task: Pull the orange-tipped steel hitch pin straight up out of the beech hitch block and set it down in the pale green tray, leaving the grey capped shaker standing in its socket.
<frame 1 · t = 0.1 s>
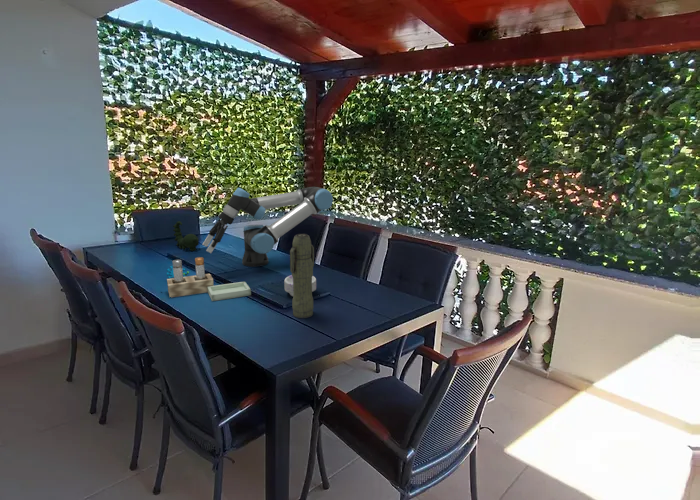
hand: (206, 248, 222), 15 cm above the table, tool tilted 35°, fingers open, 13 cm apart
teal spiky toy: (178, 280, 220), on the table
toy figurine: (187, 249, 277), on the table
grey capped shaker: (180, 292, 203), resting in hitch block
hitch pin: (201, 289, 207), resting in hitch block
tray: (229, 293, 202), on the table
thermos: (303, 314, 181), on the table
hitch block: (191, 290, 205), on the table
paper bowls: (300, 294, 203), on the table
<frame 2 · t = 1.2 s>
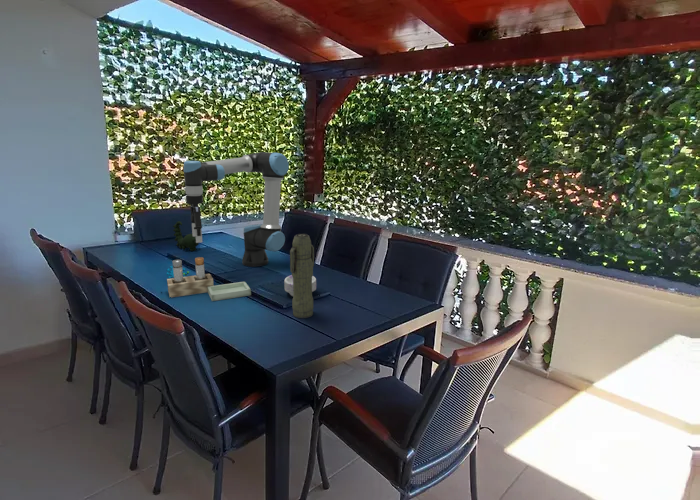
hand: (197, 239, 201), 25 cm above the table, tool pointing down, fingers open, 13 cm apart
nothing on the table moved.
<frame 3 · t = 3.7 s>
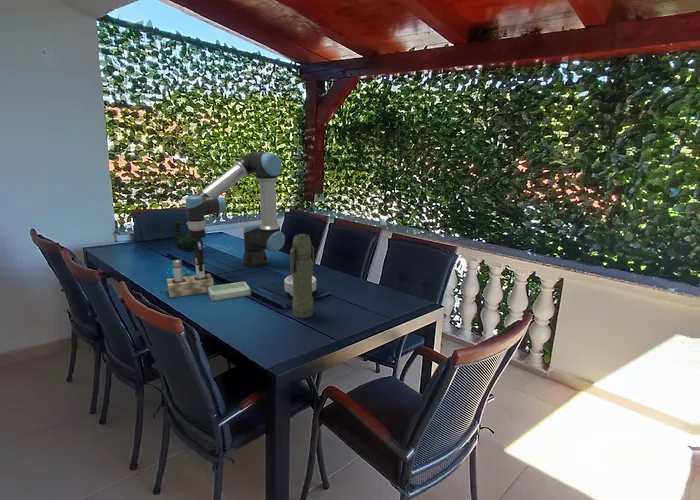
hand: (200, 275, 205), 7 cm above the table, tool pointing down, fingers closed on hitch pin, 4 cm apart
hitch pin: (201, 289, 207), resting in hitch block, touching gripper
everything else where it was.
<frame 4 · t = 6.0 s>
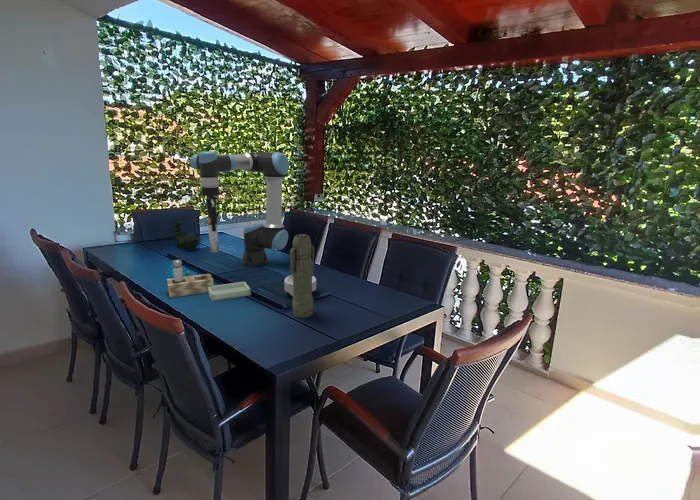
hand: (213, 236, 196), 28 cm above the table, tool pointing down, fingers closed on hitch pin, 4 cm apart
hitch pin: (214, 251, 198), point 21 cm above the table, touching gripper
everything else where it was.
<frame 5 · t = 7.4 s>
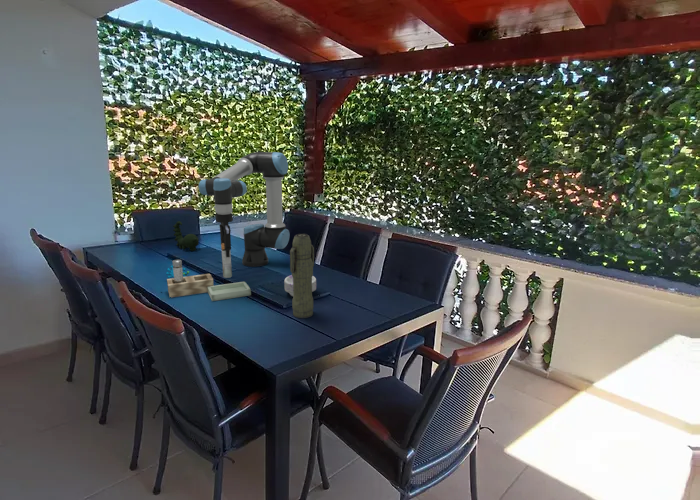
hand: (226, 261, 197), 16 cm above the table, tool pointing down, fingers closed on hitch pin, 4 cm apart
hitch pin: (227, 276, 199), point 9 cm above the table, touching gripper
everything else where it was.
when the fingers open (10 cm above the table, at t = 8.5 s): hitch pin drops 1 cm, resting on tray.
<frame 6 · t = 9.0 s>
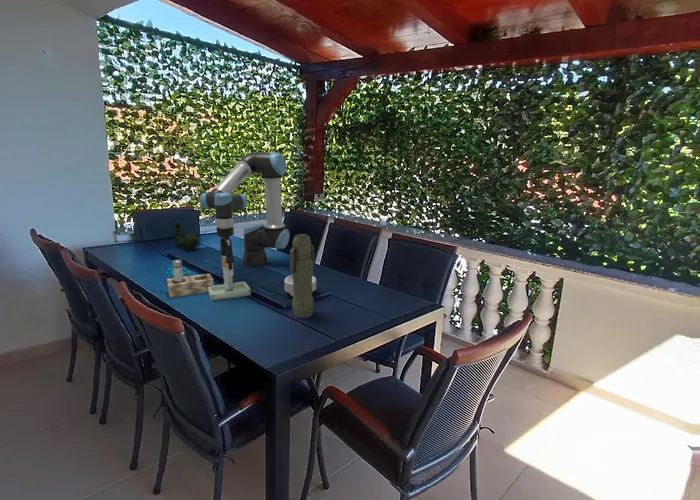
hand: (227, 272, 199), 11 cm above the table, tool pointing down, fingers open, 11 cm apart
hitch pin: (229, 291, 202), point 1 cm above the table, touching tray
everything else where it was.
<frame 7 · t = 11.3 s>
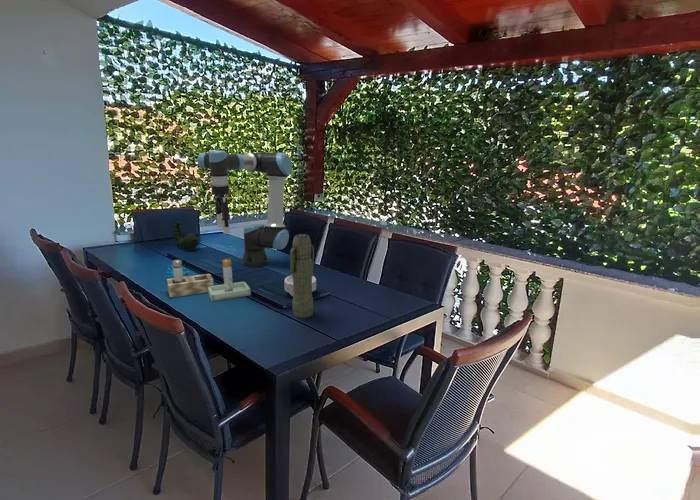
hand: (223, 230, 198), 30 cm above the table, tool pointing down, fingers open, 13 cm apart
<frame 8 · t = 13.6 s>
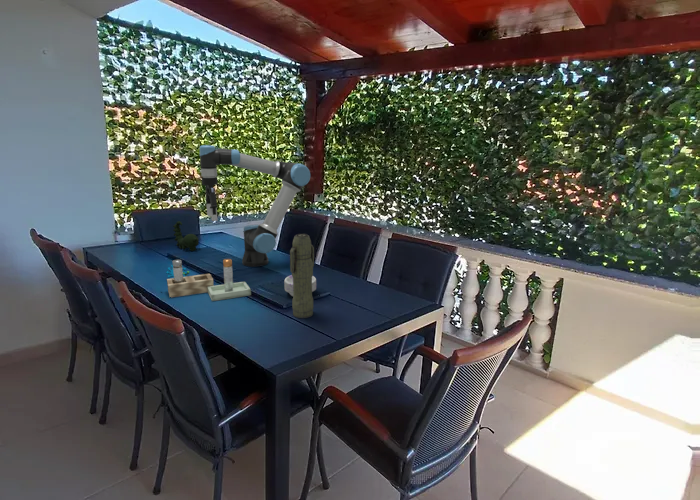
hand: (212, 218, 218), 32 cm above the table, tool pointing down, fingers open, 13 cm apart
at the end: hitch pin inside the target area on the tray (0.0 cm from its centre), point 1.0 cm above the tray's base; the gripper is holding nothing; grey capped shaker moved 0.0 cm from its start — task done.
